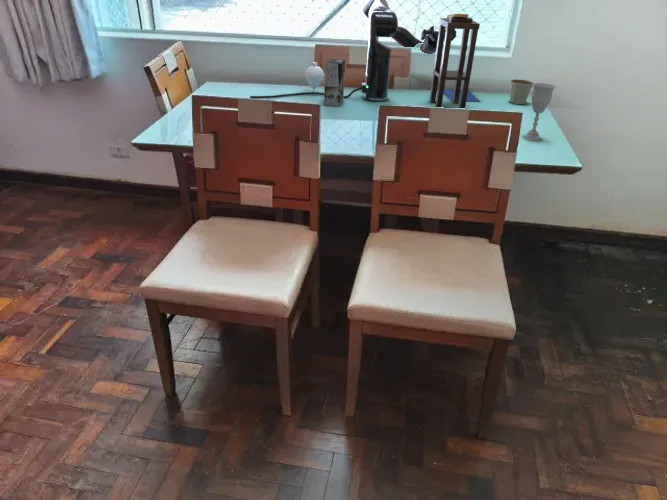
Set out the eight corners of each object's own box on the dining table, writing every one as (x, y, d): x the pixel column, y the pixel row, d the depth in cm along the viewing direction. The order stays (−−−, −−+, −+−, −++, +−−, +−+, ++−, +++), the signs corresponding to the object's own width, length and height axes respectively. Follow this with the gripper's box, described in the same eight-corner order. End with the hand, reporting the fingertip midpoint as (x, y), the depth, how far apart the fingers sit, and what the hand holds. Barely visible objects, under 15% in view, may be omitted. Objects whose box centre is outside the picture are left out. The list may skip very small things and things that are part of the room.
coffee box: (339, 106, 217) (341, 63, 208) (323, 105, 217) (324, 62, 209) (343, 100, 224) (346, 59, 216) (328, 99, 225) (329, 57, 217)
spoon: (441, 18, 223) (443, 5, 220) (455, 19, 223) (457, 5, 221) (453, 28, 208) (455, 13, 205) (468, 28, 208) (470, 14, 205)
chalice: (538, 135, 197) (551, 83, 188) (545, 141, 191) (559, 88, 182) (518, 134, 196) (529, 82, 187) (525, 140, 191) (537, 87, 182)
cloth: (451, 101, 232) (451, 100, 232) (441, 90, 247) (441, 89, 247) (479, 101, 233) (479, 101, 233) (467, 90, 248) (467, 90, 248)
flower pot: (529, 101, 237) (533, 80, 233) (529, 106, 230) (534, 85, 225) (506, 98, 239) (510, 78, 235) (506, 104, 232) (510, 83, 227)
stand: (435, 109, 220) (448, 19, 203) (428, 101, 230) (440, 14, 213) (465, 110, 221) (480, 20, 204) (457, 101, 231) (470, 15, 215)
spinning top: (302, 93, 231) (303, 63, 225) (307, 89, 238) (308, 59, 232) (320, 95, 230) (321, 65, 224) (325, 90, 237) (326, 61, 231)
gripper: (448, 52, 247) (460, 38, 231) (416, 50, 246) (426, 36, 229) (448, 35, 247) (460, 20, 231) (416, 33, 246) (426, 18, 229)
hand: (443, 28), depth 230 cm, fingers open, 8 cm apart
